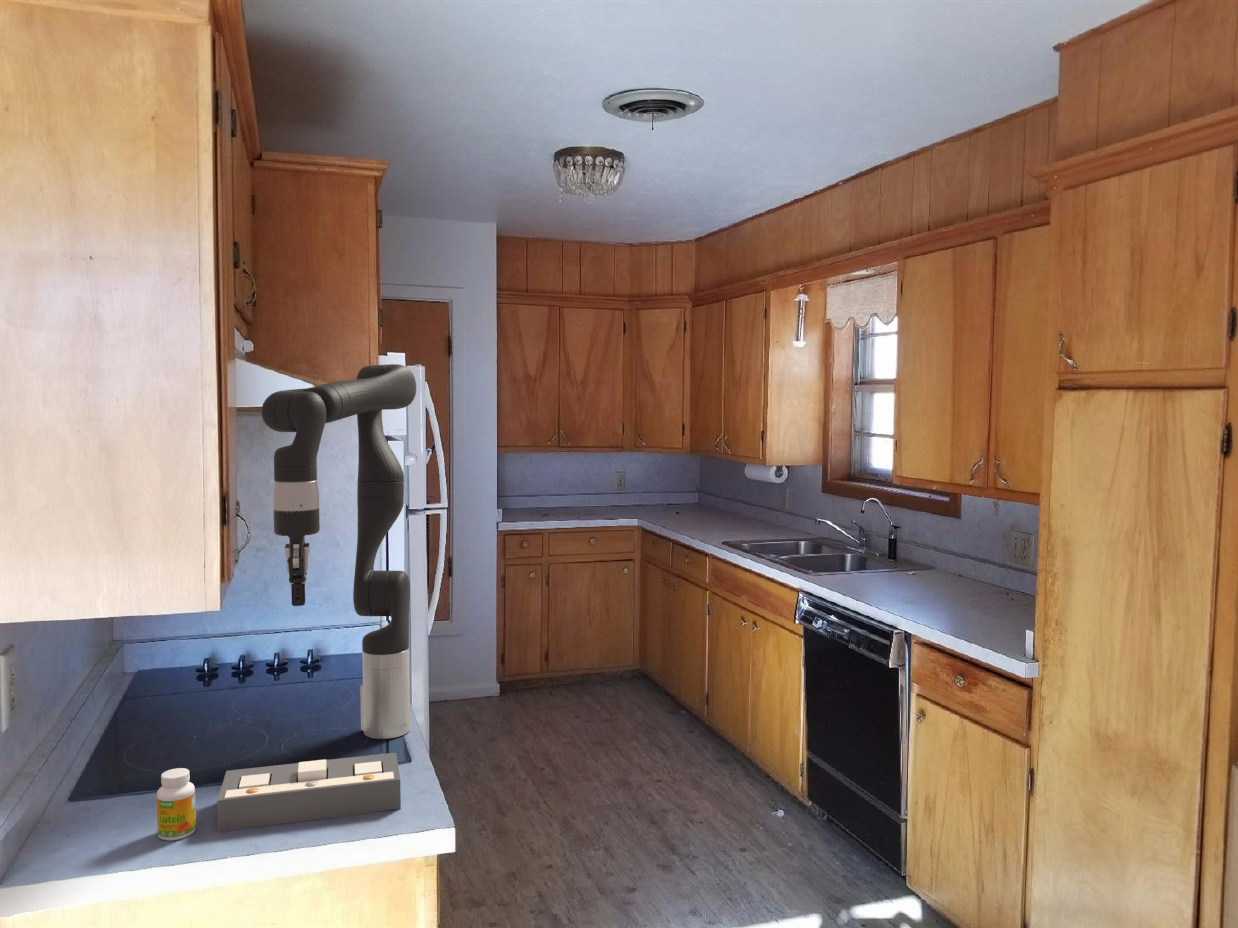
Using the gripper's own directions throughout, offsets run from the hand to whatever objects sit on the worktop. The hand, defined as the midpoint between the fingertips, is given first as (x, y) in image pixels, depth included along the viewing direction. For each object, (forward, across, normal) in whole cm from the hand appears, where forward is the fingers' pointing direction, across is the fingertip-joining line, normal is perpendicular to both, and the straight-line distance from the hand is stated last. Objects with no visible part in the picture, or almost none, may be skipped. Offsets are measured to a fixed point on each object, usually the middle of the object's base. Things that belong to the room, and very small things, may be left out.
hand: (298, 604), depth 159 cm
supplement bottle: (+32, -14, +18) cm, 40 cm away
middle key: (+28, -10, -2) cm, 30 cm away
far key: (+29, -10, -11) cm, 33 cm away
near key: (+29, -10, +7) cm, 32 cm away
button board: (+32, -10, -2) cm, 33 cm away
